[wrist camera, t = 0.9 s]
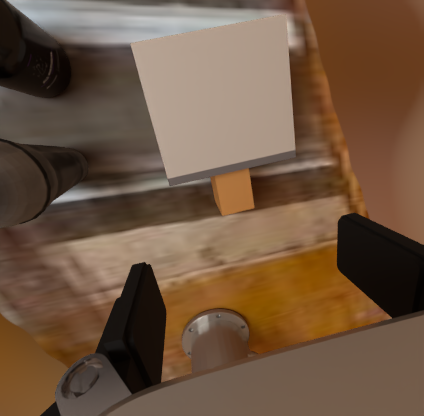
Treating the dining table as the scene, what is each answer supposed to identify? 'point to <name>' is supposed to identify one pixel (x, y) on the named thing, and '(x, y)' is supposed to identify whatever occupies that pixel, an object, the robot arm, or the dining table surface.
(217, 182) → the orange rectangular block
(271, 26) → the beige rectangular block
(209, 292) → the dining table surface
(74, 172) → the beverage cup
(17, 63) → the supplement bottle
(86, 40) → the dining table surface
